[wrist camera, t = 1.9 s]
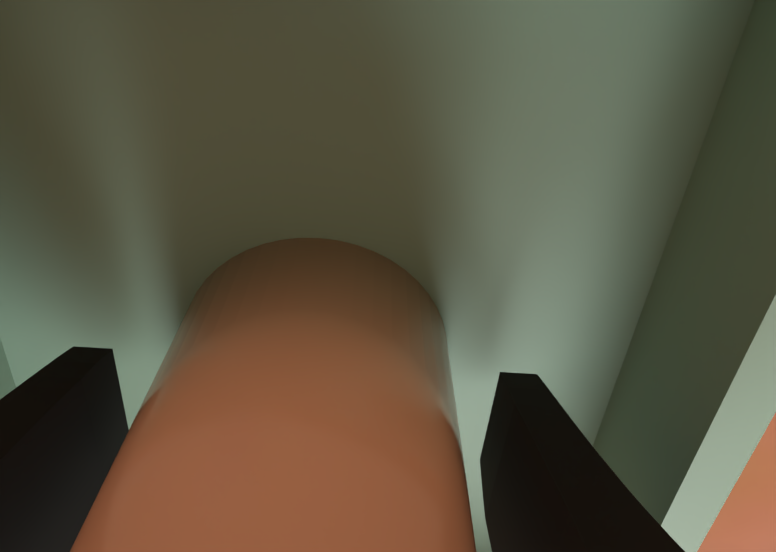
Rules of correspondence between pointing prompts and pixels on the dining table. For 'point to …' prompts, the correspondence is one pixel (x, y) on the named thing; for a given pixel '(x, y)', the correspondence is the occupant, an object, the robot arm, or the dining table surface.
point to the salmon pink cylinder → (295, 417)
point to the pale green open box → (421, 198)
